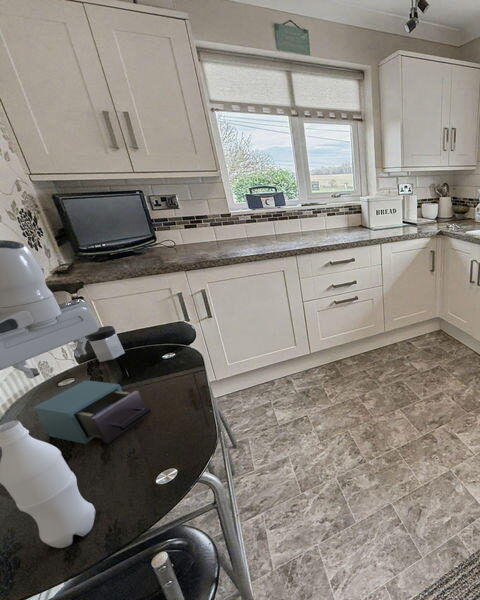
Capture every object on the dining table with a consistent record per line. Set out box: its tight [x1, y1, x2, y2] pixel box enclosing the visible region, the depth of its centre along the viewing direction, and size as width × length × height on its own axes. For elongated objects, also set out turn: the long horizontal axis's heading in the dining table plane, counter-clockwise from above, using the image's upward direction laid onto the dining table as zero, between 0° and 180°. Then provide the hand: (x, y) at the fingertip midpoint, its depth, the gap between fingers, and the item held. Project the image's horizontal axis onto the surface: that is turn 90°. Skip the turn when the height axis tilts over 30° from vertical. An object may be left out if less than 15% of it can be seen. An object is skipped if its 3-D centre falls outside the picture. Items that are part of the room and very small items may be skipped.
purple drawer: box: [74, 390, 151, 444], centre depth 86 cm, size 17×11×8 cm, turn 74°
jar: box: [85, 325, 126, 363], centre depth 125 cm, size 9×8×12 cm
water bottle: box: [0, 420, 96, 549], centre depth 56 cm, size 7×7×25 cm
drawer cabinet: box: [32, 379, 124, 445], centre depth 89 cm, size 14×12×10 cm
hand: (58, 365), depth 78 cm, fingers open, 8 cm apart
